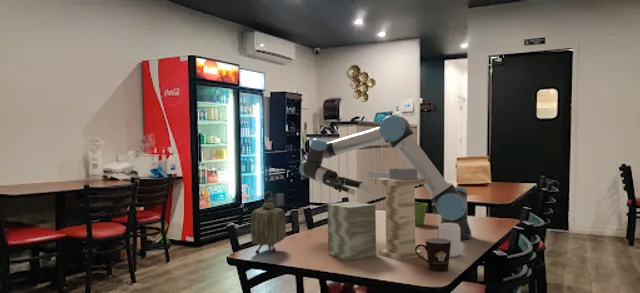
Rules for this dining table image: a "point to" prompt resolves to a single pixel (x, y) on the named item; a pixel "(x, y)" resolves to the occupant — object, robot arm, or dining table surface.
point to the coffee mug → (437, 253)
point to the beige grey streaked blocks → (360, 224)
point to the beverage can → (451, 237)
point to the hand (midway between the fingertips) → (363, 191)
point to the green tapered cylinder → (420, 213)
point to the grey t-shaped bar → (396, 174)
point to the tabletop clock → (268, 225)
